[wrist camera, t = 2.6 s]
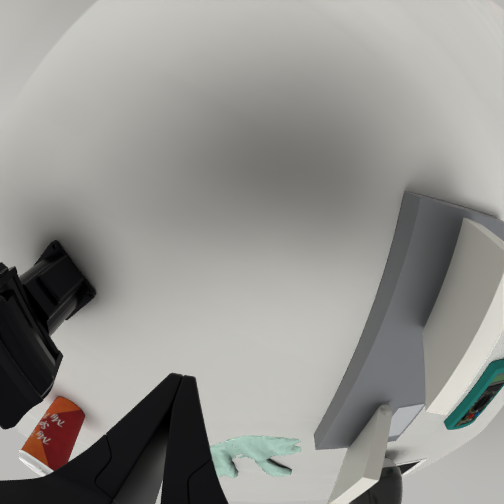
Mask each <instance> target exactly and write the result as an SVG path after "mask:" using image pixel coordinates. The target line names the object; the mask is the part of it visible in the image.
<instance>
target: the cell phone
mask: <svg viewBox="0 0 504 504" xmlns="http://www.w3.org/2000/svg"><path fill="white" fill-rule="evenodd" d="M425 460H427V458H426V459H421V460H416V461H411V462H406V463H400V464H396V466H397V467H399V468H400V471H401V475H406V474H408V473H409V472H411V471H412V470H413V469H415V468H416V467H417V466H419V465H420V464H421V463H423V462H424V461H425Z"/></svg>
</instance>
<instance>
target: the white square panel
mask: <svg viewBox="0 0 504 504" xmlns="http://www.w3.org/2000/svg"><path fill="white" fill-rule="evenodd" d="M503 330H504V241H503V240H501V239H500V238H499V237H498V236H496V235H495V234H494V233H492V232H491V231H490V230H488V229H487V228H486V227H484V226H483V225H482V224H480V223H478V222H476V221H474V220H471V219H468V218H463V222H462V226H461V230H460V233H459V237H458V240H457V244H456V247H455V250H454V253H453V256H452V259H451V262H450V265H449V268H448V271H447V274H446V277H445V279H444V282H443V285H442V287H441V290H440V292H439V295H438V297H437V300H436V302H435V305H434V307H433V309H432V312H431V314H430V316H429V318H428V321H427V323H426V325H425V327H424V329H423V331H422V337H423V348H424V362H425V389H426V407H425V412H430V413H435V414H441V415H447V414H448V412H449V411H450V410H451V409H452V407H453V406H454V405H455V404H456V402H457V401H458V400H459V399H460V397H461V396H462V395H463V393H464V392H465V391H466V389H467V388H468V387H469V385H470V384H471V382H472V381H473V379H474V378H475V377H476V375H477V374H478V372H479V371H480V369H481V368H482V366H483V364H484V363H485V361H486V360H487V358H488V356H489V355H490V353H491V352H492V350H493V348H494V346H495V345H496V343H497V341H498V339H499V338H500V336H501V334H502V332H503Z"/></svg>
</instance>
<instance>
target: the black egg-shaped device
mask: <svg viewBox="0 0 504 504" xmlns="http://www.w3.org/2000/svg"><path fill="white" fill-rule="evenodd" d="M401 501H402V476H401V471H400V468H399V467H397V466H396V464H395V463H394V462H393V461H392V460H390V459H388V458H385V457H384V462H383V466H382V471H381V475H380V479H379V481H378V482H377V483H375V484H374V485H373V486H371V487H370V488H369V489H368V490H366V491H365V492H363V493H362V494H361V495H359V496H358V497H357V498H355V499H354V500H352V501H351V502H349V504H401Z"/></svg>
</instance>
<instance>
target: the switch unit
mask: <svg viewBox="0 0 504 504" xmlns="http://www.w3.org/2000/svg"><path fill="white" fill-rule="evenodd" d="M463 218H468V219H471V220H474V221H476V222H478V223H480V224H482V225H483V226H484V227H486V228H487V229H488V230H490V231H491V232H492V233H494V234H495V235H496V236H498V237H499V238H500V239H501V240H503V241H504V221H502V220H500V219H498V218H496V217H493V216H490V215H487V214H484V213H481V212H478V211H475V210H472V209H468V208H465V207H462V206H459V205H455V204H452V203H449V202H445V201H442V200H438V199H434V198H431V197H427V196H423V195H419V194H415V193H411V192H407V191H404V196H403V200H402V205H401V210H400V214H399V218H398V223H397V227H396V231H395V235H394V238H393V242H392V246H391V250H390V253H389V257H388V260H387V264H386V267H385V270H384V273H383V277H382V280H381V283H380V286H379V289H378V292H377V295H376V298H375V301H374V304H373V307H372V309H371V312H370V315H369V318H368V320H367V323H366V325H365V328H364V331H363V333H362V336H361V338H360V341H359V343H358V346H357V348H356V350H355V353H354V355H353V357H352V360H351V362H350V364H349V366H348V369H347V371H346V373H345V375H344V377H343V380H342V382H341V384H340V386H339V388H338V390H337V392H336V394H335V396H334V398H333V400H332V402H331V404H330V406H329V408H328V410H327V412H326V414H325V416H324V417H323V419H322V421H321V423H320V425H319V427H318V428H317V430H316V432H315V434H314V439H315V447H316V450H322V449H337V448H348V447H350V446H351V445H352V443H353V442H354V441H355V440H356V438H357V437H358V436H359V434H360V433H361V432H362V430H363V429H364V428H365V426H366V425H367V424H368V422H369V421H370V419H371V418H372V417H373V415H374V414H375V412H376V411H377V409H378V408H379V406H381V405H383V404H386V405H389V406H390V407H391V408H392V409H393V412H392V419H391V425H390V431H389V437H388V442H391V441H396V440H397V439H398V437H399V436H400V435H401V434H402V433H403V432H404V431H405V429H406V428H407V427H408V426H409V425H410V424H411V422H412V421H413V420H414V419H415V418H416V416H417V415H418V414H419V413H420V411H421V410H422V409H423V407H424V406H425V405H426V389H425V362H424V348H423V337H422V331H423V329H424V327H425V325H426V323H427V321H428V318H429V316H430V314H431V312H432V309H433V307H434V305H435V302H436V300H437V297H438V295H439V292H440V290H441V287H442V285H443V282H444V279H445V277H446V274H447V271H448V268H449V265H450V262H451V259H452V256H453V253H454V250H455V247H456V244H457V240H458V237H459V233H460V230H461V226H462V222H463Z"/></svg>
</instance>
